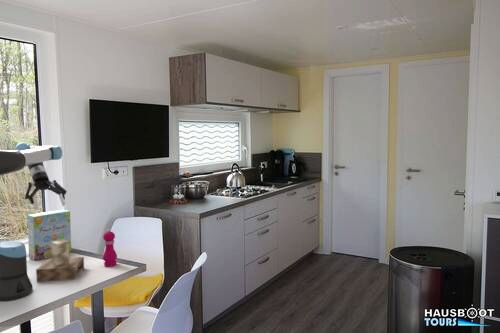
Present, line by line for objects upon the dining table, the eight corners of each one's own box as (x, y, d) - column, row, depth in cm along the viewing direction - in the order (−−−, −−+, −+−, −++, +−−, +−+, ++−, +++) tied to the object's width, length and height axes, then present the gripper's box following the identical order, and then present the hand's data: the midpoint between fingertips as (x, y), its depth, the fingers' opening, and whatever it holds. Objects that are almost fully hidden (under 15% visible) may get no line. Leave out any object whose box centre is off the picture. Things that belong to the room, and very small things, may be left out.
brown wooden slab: (36, 281, 189) (36, 269, 189) (47, 270, 205) (47, 259, 205) (76, 278, 192) (75, 267, 192) (84, 268, 208) (83, 257, 208)
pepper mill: (105, 268, 207) (103, 231, 206) (101, 264, 213) (100, 228, 212) (118, 265, 211) (117, 229, 210) (115, 262, 217) (113, 226, 216)
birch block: (56, 265, 194) (55, 244, 193) (52, 263, 198) (51, 241, 197) (69, 262, 198) (68, 241, 197) (64, 260, 203) (63, 239, 202)
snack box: (35, 261, 220) (32, 216, 218) (28, 258, 225) (25, 214, 223) (72, 251, 237) (70, 210, 235) (65, 249, 243) (63, 208, 240)
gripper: (61, 178, 225) (73, 207, 216) (12, 182, 207) (22, 214, 198) (64, 169, 221) (76, 198, 211) (14, 173, 203) (25, 205, 194)
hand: (50, 206), depth 205 cm, fingers open, 13 cm apart
